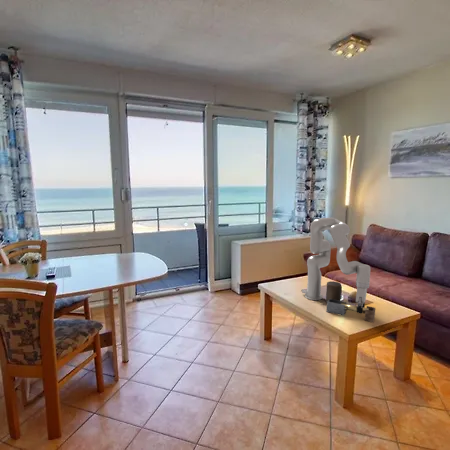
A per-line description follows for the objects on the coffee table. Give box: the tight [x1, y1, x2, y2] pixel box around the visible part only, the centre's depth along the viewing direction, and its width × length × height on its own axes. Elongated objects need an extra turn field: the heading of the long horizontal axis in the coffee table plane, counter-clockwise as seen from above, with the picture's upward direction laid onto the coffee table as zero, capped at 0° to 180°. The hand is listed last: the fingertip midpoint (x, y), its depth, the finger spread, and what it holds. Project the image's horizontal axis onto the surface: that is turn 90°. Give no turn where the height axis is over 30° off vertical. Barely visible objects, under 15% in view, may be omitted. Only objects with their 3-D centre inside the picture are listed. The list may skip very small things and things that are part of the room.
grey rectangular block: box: [325, 299, 348, 317], centre depth 197 cm, size 11×6×7 cm, turn 58°
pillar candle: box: [325, 281, 342, 303], centre depth 213 cm, size 10×10×15 cm
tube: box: [341, 303, 369, 315], centre depth 192 cm, size 16×4×4 cm, turn 58°
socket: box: [364, 305, 376, 323], centre depth 187 cm, size 5×7×7 cm
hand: (360, 310), depth 190 cm, fingers open, 9 cm apart
